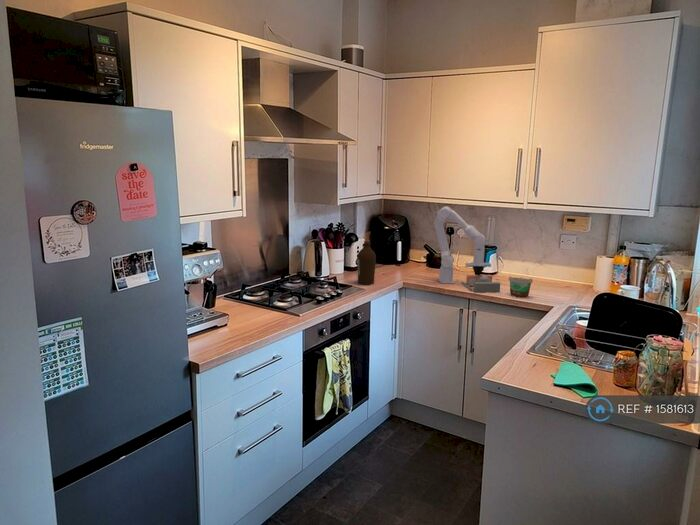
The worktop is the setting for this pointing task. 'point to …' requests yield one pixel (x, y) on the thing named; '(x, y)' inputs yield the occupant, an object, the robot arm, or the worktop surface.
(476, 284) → the vise
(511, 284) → the food container
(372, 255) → the olive oil
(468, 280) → the clamp jaw
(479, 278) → the steel block
